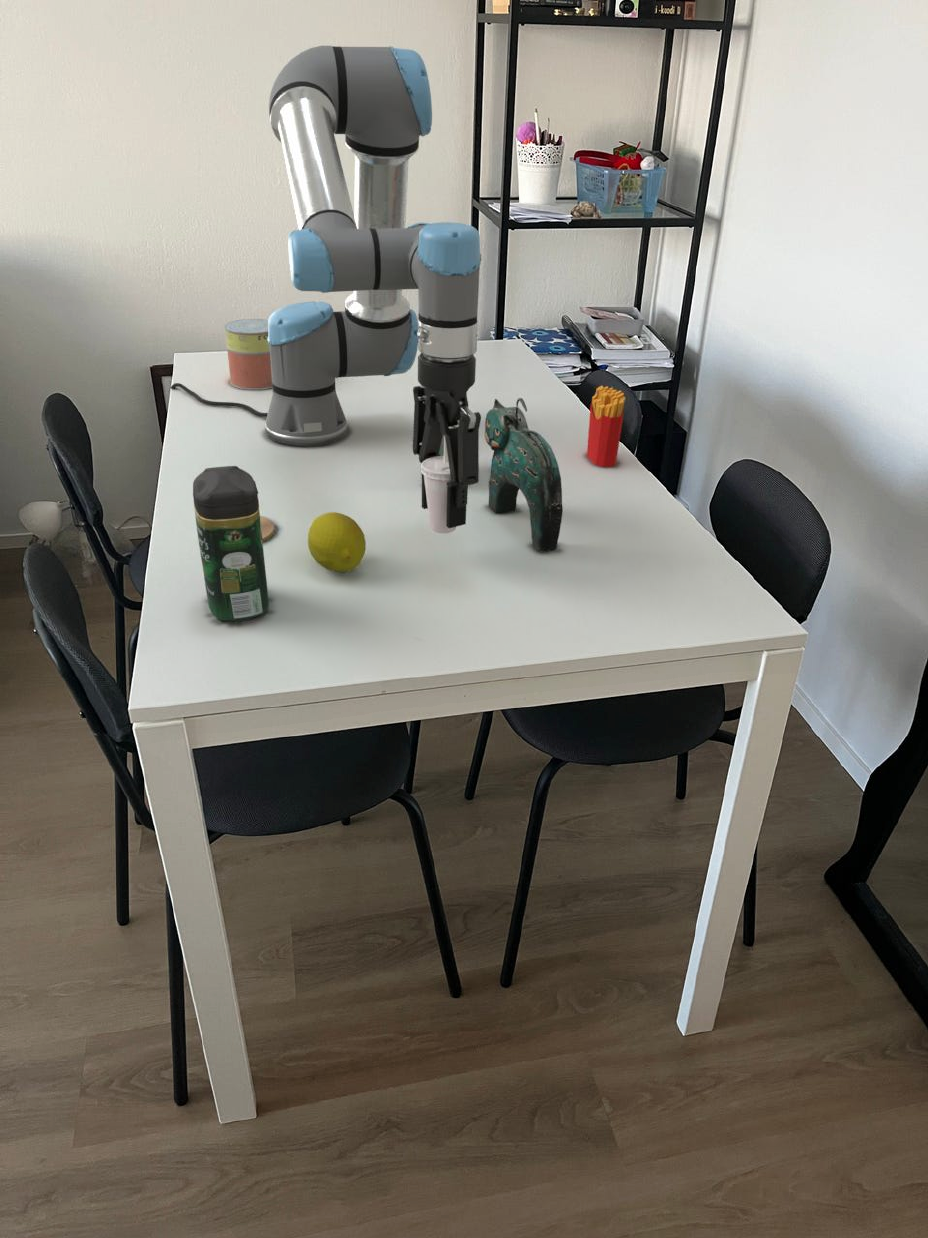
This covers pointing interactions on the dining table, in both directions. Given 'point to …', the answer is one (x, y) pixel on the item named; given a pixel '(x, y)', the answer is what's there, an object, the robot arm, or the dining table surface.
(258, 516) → the coffee jar
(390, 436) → the dining table surface
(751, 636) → the dining table surface
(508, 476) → the ceramic cat
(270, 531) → the cork coaster
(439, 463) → the white drink cup
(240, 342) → the canned food
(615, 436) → the french fries
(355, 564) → the lemon
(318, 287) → the robot arm
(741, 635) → the dining table surface
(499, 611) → the dining table surface
